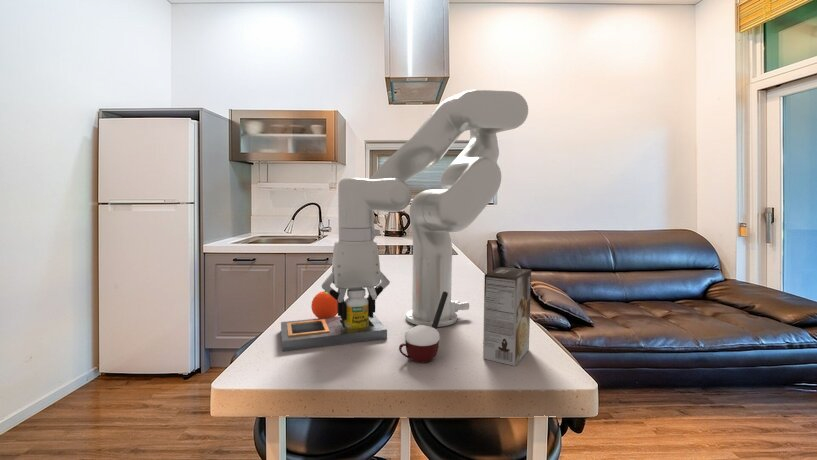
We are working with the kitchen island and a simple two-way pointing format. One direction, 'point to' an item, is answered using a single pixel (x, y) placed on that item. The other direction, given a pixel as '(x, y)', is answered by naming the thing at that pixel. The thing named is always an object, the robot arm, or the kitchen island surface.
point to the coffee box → (506, 315)
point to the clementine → (324, 305)
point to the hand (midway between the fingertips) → (356, 316)
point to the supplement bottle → (356, 309)
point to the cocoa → (424, 338)
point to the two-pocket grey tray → (327, 333)
